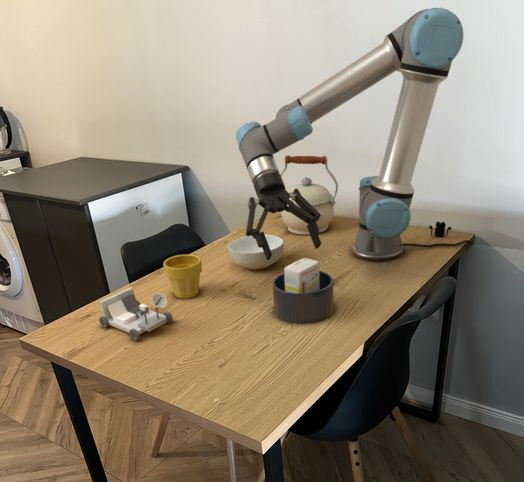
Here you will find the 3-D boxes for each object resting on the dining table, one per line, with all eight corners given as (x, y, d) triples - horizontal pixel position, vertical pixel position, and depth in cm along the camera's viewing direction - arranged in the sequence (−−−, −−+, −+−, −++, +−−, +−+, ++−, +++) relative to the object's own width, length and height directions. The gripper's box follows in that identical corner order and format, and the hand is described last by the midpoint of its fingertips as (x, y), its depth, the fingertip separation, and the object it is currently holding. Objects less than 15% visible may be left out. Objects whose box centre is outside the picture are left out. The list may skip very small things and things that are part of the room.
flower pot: (212, 288, 157) (207, 255, 152) (193, 303, 149) (188, 270, 144) (181, 284, 161) (176, 252, 156) (161, 298, 153) (155, 266, 148)
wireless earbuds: (427, 236, 179) (429, 221, 176) (429, 234, 181) (430, 219, 178) (450, 238, 176) (451, 223, 173) (451, 235, 178) (452, 220, 175)
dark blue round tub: (316, 292, 149) (316, 264, 145) (344, 314, 137) (344, 285, 133) (265, 305, 145) (263, 277, 140) (289, 328, 132) (287, 299, 128)
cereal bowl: (286, 253, 175) (285, 232, 172) (283, 274, 161) (281, 251, 158) (234, 255, 177) (232, 234, 174) (226, 276, 163) (223, 253, 160)
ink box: (300, 316, 136) (298, 272, 130) (285, 311, 139) (282, 268, 133) (321, 303, 142) (320, 260, 136) (305, 299, 144) (304, 256, 138)
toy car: (174, 290, 133) (137, 308, 126) (180, 325, 138) (145, 345, 131) (128, 275, 144) (91, 291, 136) (135, 308, 149) (100, 326, 141)
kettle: (345, 222, 198) (345, 150, 185) (329, 239, 184) (328, 162, 171) (281, 218, 208) (277, 149, 195) (261, 234, 193) (255, 161, 181)
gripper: (305, 179, 149) (333, 248, 145) (219, 195, 142) (245, 268, 137) (313, 162, 142) (343, 234, 138) (223, 179, 135) (251, 255, 130)
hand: (294, 251), depth 137 cm, fingers open, 13 cm apart
